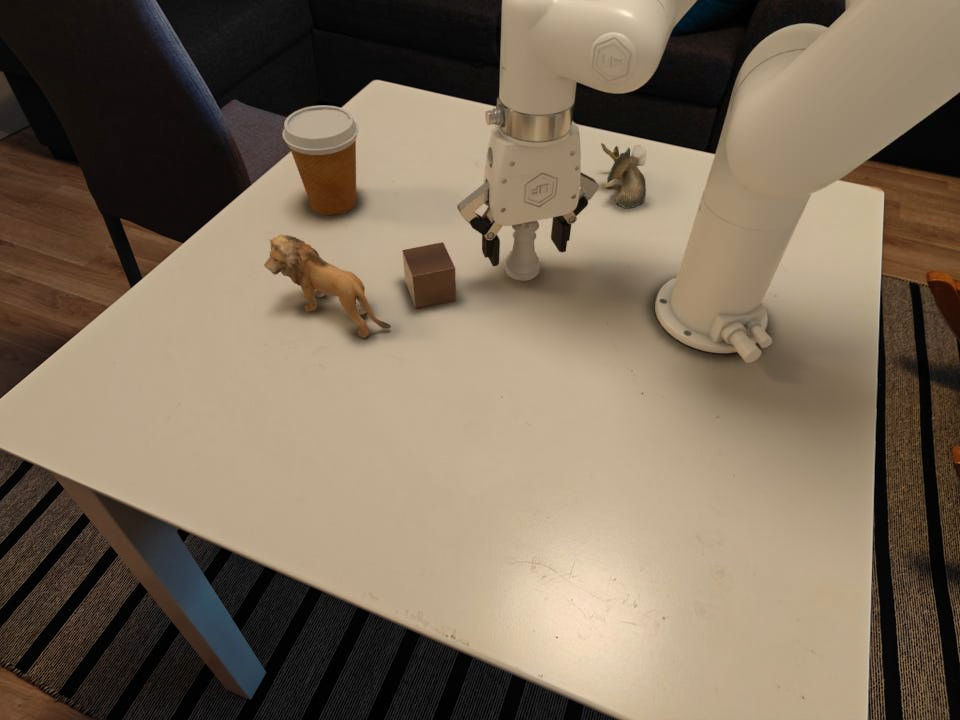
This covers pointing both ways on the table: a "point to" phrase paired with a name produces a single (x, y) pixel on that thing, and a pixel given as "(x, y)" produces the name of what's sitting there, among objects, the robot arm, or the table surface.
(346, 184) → the disposable coffee cup
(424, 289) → the walnut block
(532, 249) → the rook chess piece
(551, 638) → the table surface
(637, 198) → the horned animal figurine
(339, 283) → the lion figurine
